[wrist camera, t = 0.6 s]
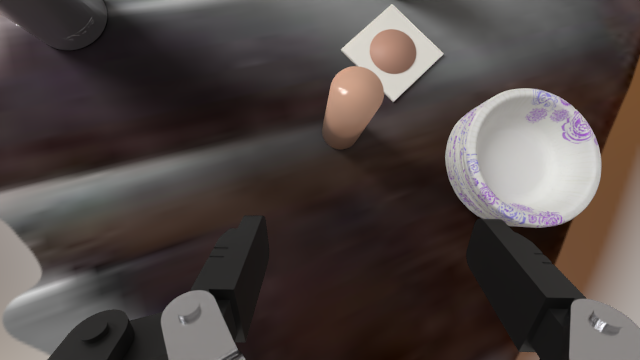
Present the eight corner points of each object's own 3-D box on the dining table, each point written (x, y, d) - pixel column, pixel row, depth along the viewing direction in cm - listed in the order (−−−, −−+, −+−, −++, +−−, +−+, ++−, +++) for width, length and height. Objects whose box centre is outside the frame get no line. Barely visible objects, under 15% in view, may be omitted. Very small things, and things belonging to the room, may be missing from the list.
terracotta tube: (314, 130, 37) (318, 90, 25) (340, 106, 37) (357, 55, 25) (340, 157, 36) (357, 129, 24) (366, 132, 37) (394, 93, 25)
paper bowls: (553, 132, 38) (617, 111, 31) (530, 240, 36) (592, 247, 29) (448, 97, 38) (485, 66, 30) (419, 203, 36) (450, 201, 28)
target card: (340, 50, 38) (341, 48, 38) (391, 5, 39) (392, 3, 39) (393, 102, 38) (394, 101, 37) (442, 55, 39) (444, 53, 38)
